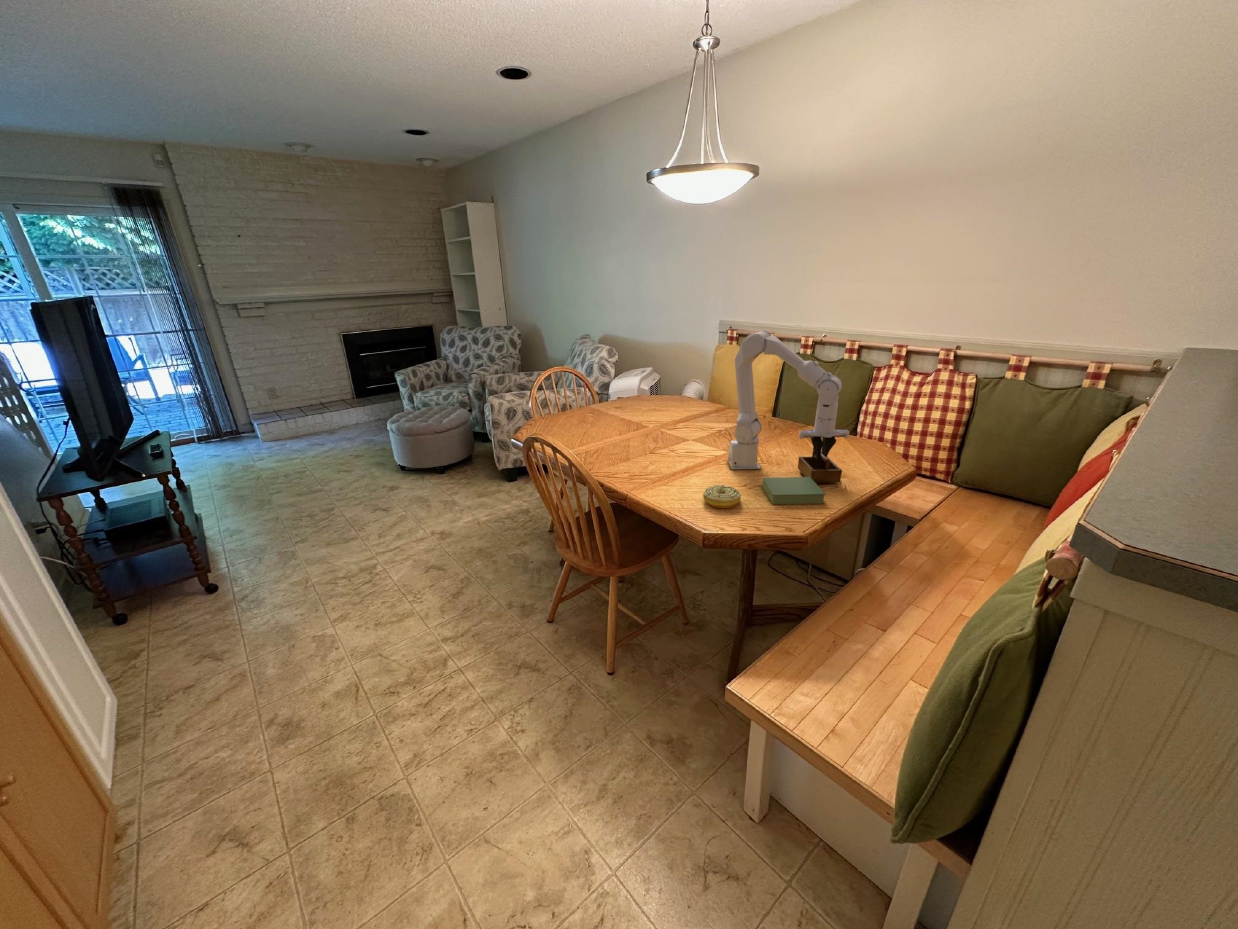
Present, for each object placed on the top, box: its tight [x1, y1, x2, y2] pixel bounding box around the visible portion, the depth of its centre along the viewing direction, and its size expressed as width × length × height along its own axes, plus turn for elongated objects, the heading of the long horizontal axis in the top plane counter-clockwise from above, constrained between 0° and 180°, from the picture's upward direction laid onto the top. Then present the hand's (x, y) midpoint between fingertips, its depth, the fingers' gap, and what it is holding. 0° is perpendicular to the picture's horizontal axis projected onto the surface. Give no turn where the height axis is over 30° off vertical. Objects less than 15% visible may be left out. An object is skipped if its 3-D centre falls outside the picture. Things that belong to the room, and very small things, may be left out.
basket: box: [797, 446, 843, 484], centre depth 149 cm, size 9×12×7 cm
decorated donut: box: [702, 484, 742, 509], centre depth 136 cm, size 10×11×4 cm
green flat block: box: [761, 476, 826, 505], centre depth 140 cm, size 14×12×3 cm
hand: (820, 459), depth 149 cm, fingers closed on basket
